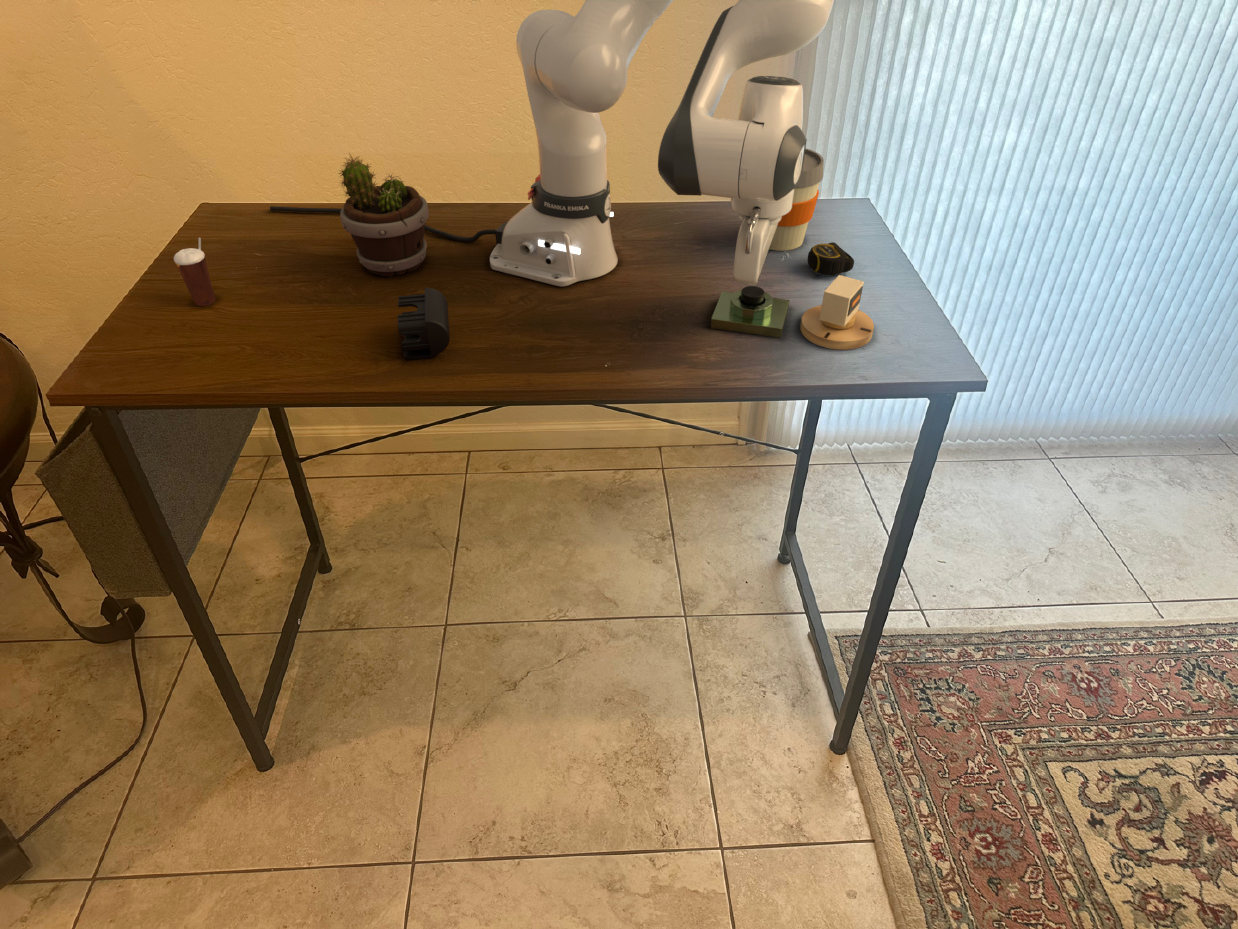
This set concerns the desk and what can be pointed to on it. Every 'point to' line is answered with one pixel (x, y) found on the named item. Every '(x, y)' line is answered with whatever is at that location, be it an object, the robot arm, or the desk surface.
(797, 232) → the reusable coffee cup
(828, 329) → the stand
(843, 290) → the tan cube with screen
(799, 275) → the desk surface
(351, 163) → the flowerpot
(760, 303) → the button
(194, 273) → the milkshake
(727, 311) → the base
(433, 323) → the end cap
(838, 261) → the tape measure
